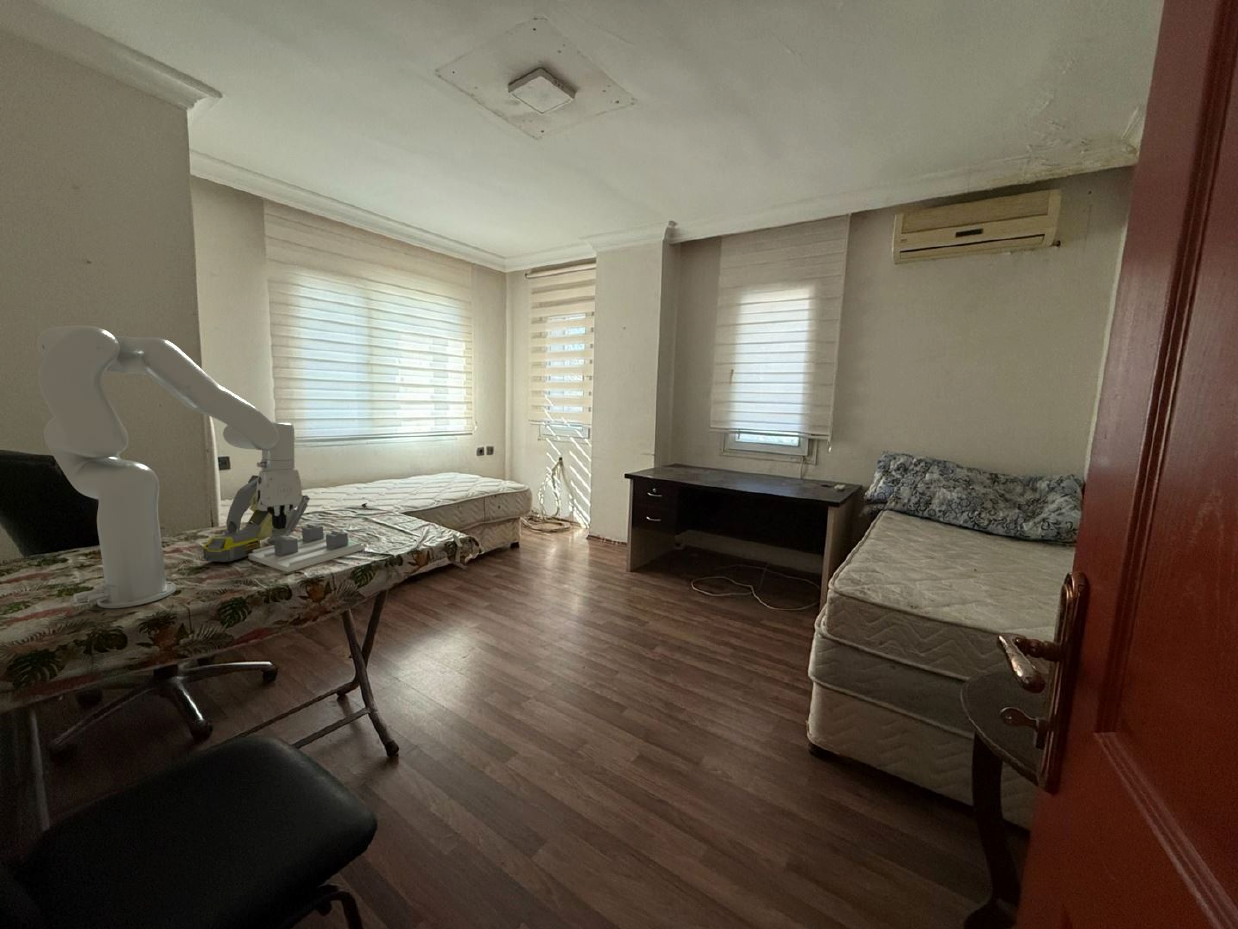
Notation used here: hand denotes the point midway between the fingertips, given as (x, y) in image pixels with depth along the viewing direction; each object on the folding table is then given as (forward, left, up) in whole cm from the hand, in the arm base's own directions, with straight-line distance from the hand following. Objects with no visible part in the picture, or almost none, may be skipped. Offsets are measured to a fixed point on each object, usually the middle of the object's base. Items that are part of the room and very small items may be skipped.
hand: (279, 528), depth 135 cm
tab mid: (-2, -6, -7) cm, 9 cm away
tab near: (+9, -12, -7) cm, 16 cm away
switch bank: (+4, -6, -8) cm, 11 cm away
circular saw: (+1, +13, -8) cm, 15 cm away
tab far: (+9, 0, -7) cm, 11 cm away
